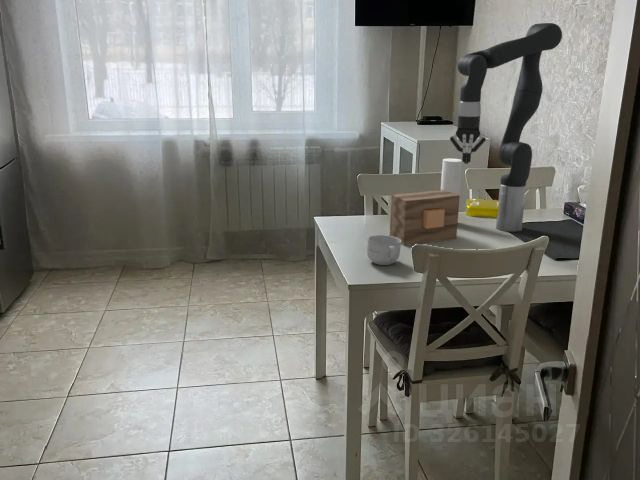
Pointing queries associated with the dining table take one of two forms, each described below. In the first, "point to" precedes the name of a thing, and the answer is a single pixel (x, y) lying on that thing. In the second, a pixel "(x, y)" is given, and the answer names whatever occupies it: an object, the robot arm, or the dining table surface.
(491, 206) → the element tile
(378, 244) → the teacup
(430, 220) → the light brown block
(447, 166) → the cylindrical container
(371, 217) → the dining table surface
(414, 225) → the wooden box
